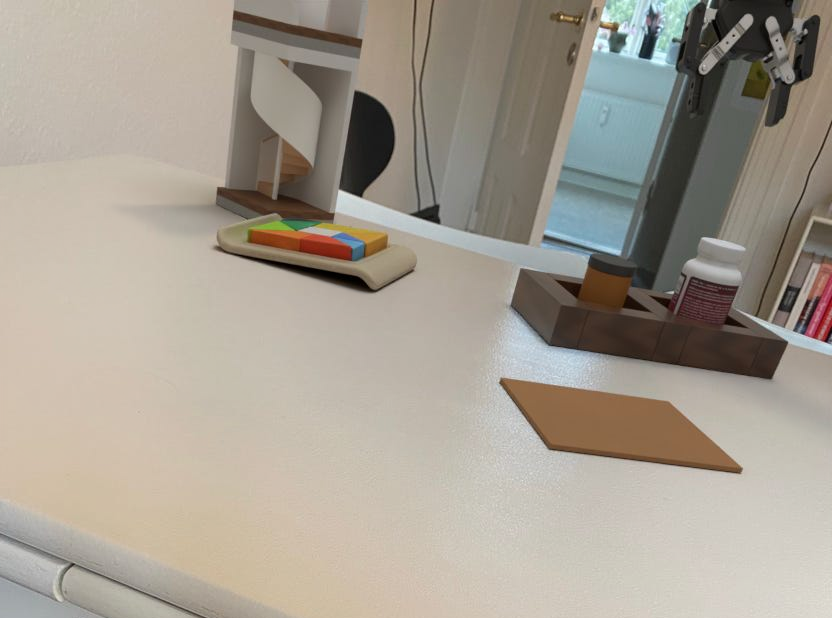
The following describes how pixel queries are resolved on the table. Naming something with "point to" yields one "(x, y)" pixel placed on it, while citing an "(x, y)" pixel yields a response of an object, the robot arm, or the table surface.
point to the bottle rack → (644, 327)
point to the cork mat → (615, 426)
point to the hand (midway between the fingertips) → (733, 121)
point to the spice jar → (607, 280)
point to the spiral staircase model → (291, 105)
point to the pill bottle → (708, 282)
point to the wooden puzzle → (319, 247)
